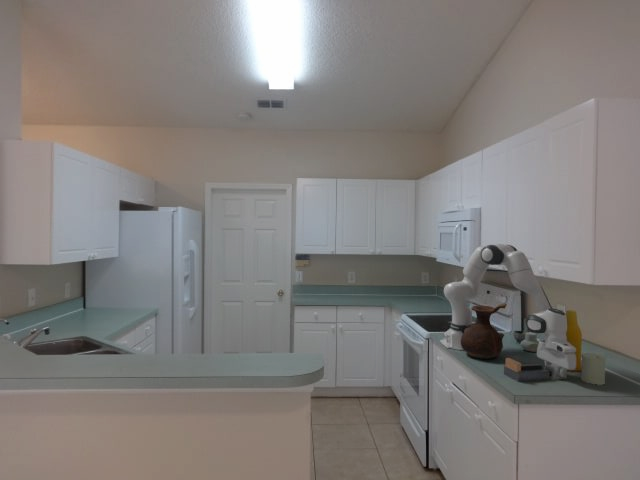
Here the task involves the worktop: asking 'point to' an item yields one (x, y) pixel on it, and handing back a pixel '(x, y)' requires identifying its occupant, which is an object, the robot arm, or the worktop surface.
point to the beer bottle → (574, 336)
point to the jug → (483, 334)
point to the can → (593, 369)
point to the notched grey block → (554, 371)
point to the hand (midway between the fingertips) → (555, 373)
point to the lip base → (525, 371)
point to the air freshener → (530, 342)
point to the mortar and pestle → (520, 335)
